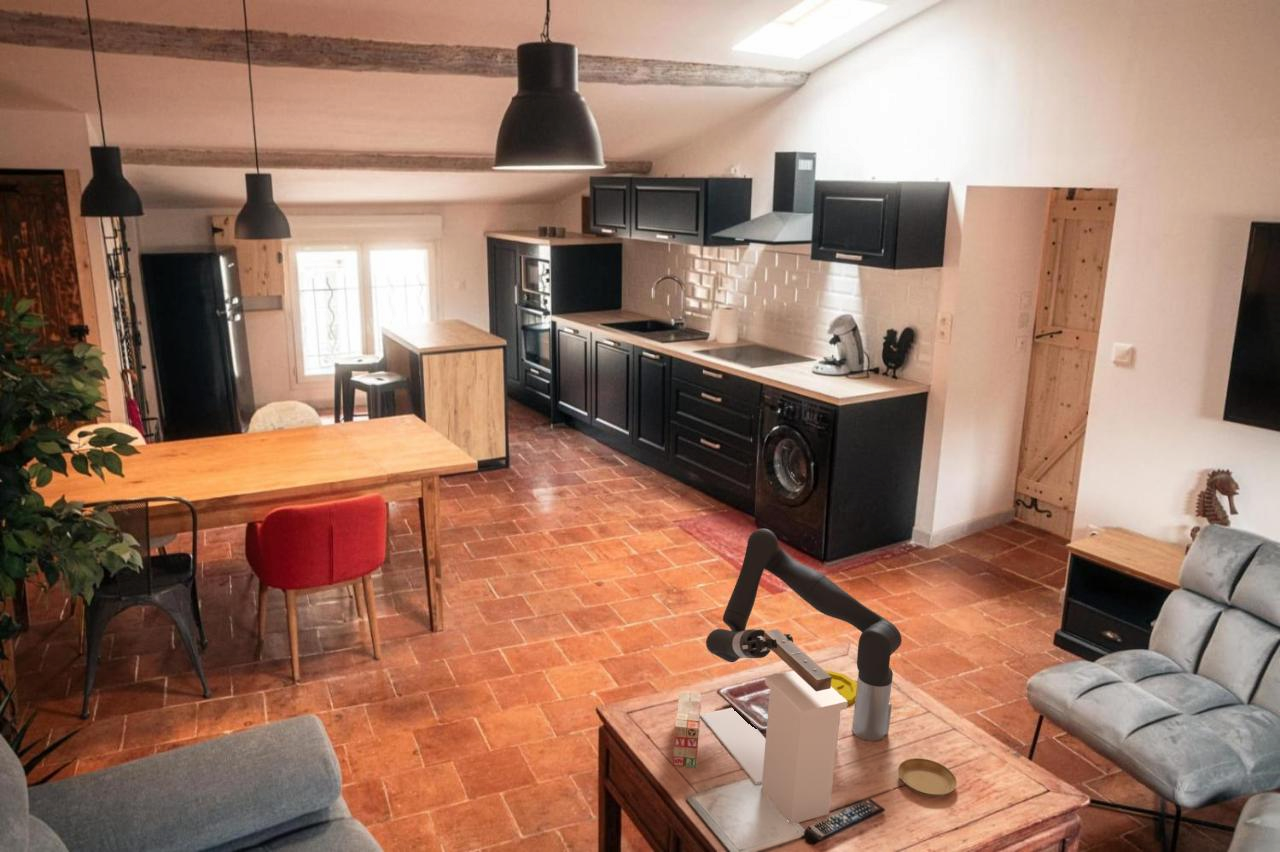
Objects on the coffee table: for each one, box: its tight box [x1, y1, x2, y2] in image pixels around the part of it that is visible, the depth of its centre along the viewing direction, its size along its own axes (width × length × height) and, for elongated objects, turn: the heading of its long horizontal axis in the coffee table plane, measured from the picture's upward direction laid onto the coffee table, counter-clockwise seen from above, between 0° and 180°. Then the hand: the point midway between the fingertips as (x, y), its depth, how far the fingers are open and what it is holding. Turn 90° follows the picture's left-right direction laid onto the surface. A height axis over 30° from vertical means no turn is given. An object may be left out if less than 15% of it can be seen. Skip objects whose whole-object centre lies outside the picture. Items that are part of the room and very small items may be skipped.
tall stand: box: [761, 670, 848, 825], centre depth 220 cm, size 13×16×32 cm
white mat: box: [700, 707, 766, 785], centre depth 246 cm, size 12×32×1 cm, turn 23°
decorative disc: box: [823, 669, 857, 706], centre depth 274 cm, size 17×18×2 cm
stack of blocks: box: [672, 691, 702, 769], centre depth 245 cm, size 21×6×12 cm, turn 174°
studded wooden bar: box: [764, 628, 832, 692], centre depth 219 cm, size 4×24×3 cm, turn 23°
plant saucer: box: [897, 757, 958, 798], centre depth 233 cm, size 15×15×3 cm
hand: (783, 641), depth 224 cm, fingers closed on studded wooden bar, 4 cm apart
